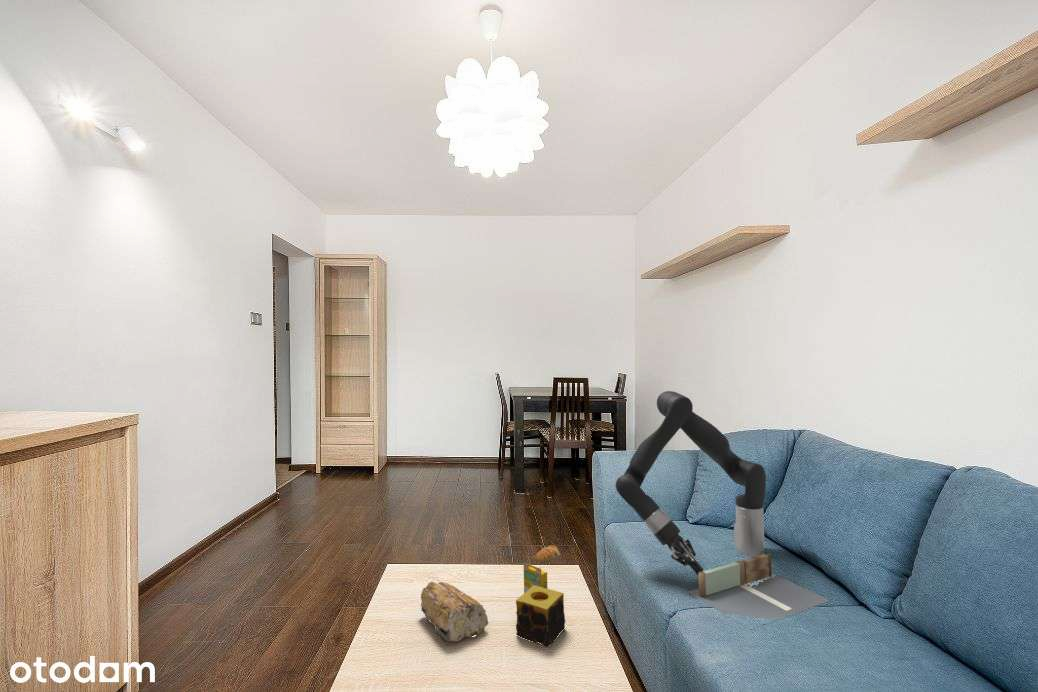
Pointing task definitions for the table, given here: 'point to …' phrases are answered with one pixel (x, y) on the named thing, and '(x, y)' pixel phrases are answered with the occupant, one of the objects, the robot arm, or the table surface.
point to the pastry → (547, 554)
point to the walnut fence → (757, 568)
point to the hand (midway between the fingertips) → (701, 572)
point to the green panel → (721, 578)
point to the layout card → (763, 599)
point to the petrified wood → (452, 611)
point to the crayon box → (534, 577)
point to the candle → (540, 615)
